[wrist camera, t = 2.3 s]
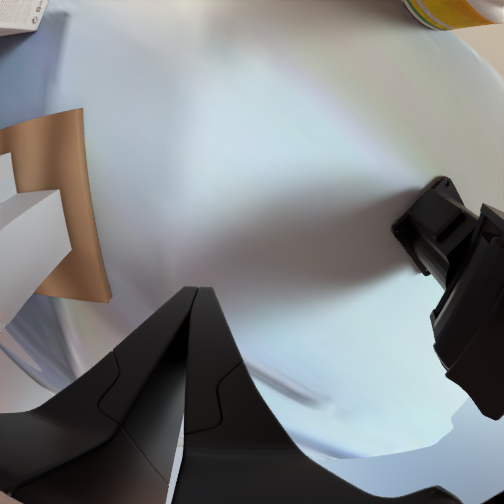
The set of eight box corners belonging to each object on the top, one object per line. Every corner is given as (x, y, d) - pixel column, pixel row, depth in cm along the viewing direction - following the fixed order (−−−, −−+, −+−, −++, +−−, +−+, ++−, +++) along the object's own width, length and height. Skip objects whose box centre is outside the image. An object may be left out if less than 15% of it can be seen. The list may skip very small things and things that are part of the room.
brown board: (82, 107, 16) (75, 109, 15) (112, 296, 24) (107, 303, 23) (-42, 146, 16) (-49, 149, 15) (-9, 280, 23) (-14, 285, 22)
